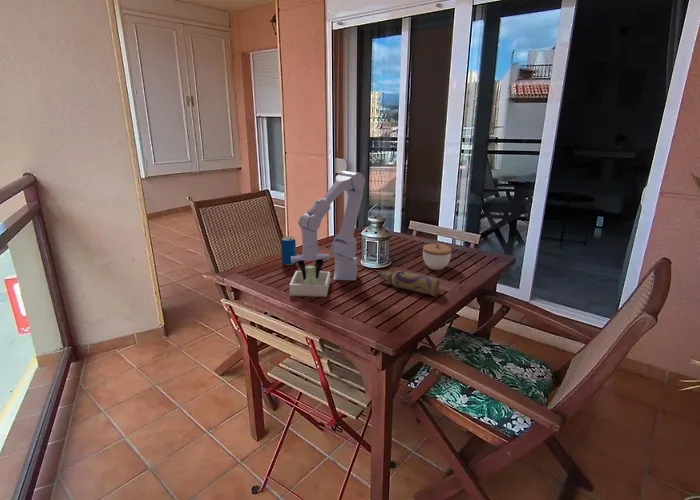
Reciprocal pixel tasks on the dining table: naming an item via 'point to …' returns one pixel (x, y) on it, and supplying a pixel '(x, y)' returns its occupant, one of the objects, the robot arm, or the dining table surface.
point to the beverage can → (288, 249)
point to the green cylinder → (310, 274)
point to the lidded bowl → (436, 255)
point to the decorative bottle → (412, 282)
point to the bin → (310, 285)
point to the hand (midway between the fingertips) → (310, 278)
